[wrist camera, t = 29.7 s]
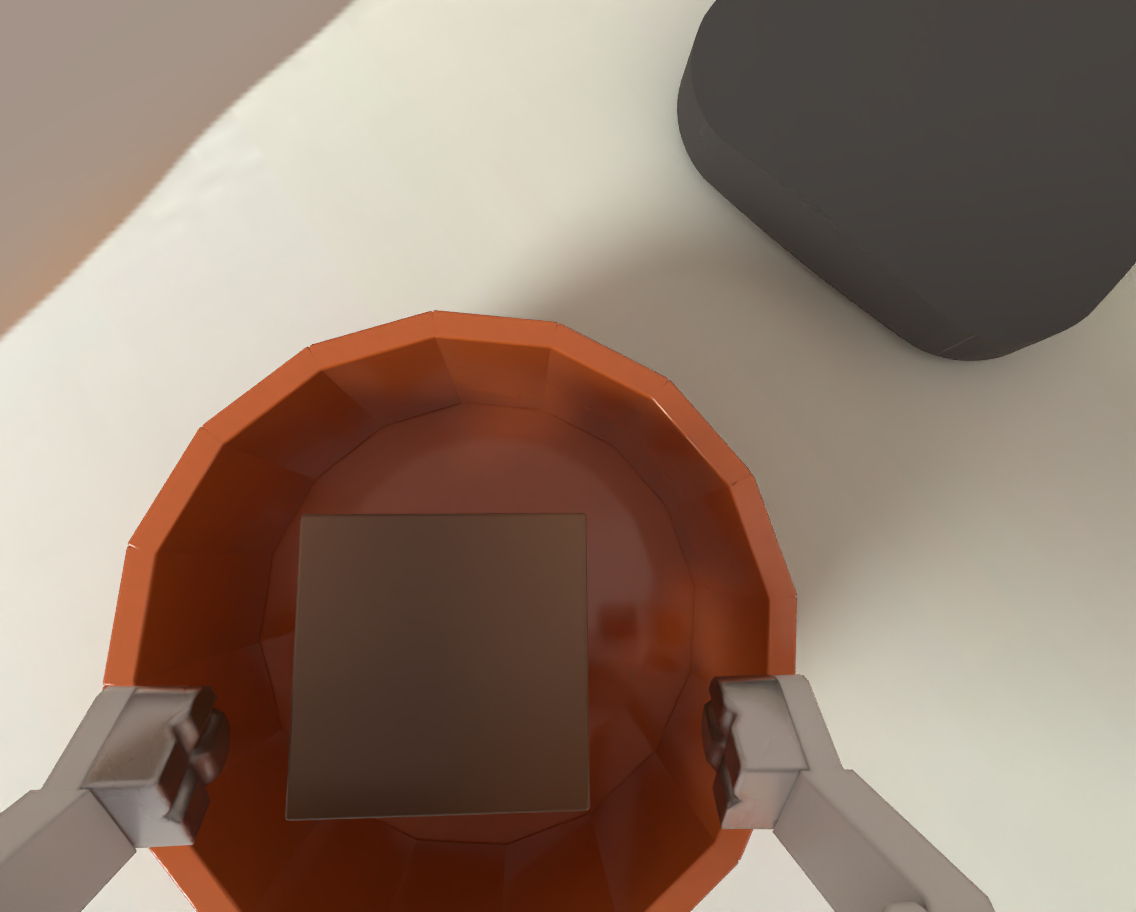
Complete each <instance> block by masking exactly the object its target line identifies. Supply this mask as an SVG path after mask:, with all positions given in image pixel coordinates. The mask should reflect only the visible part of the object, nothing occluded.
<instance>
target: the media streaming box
mask: <svg viewBox="0 0 1136 912" xmlns="http://www.w3.org/2000/svg"><path fill="white" fill-rule="evenodd" d="M677 114H678V124H679V129H680V133H681V137H682V140H683V143H684V146H685V148H686V151H687V153H688V155H689V156H690V158H691V160H692V162H693V164H694V165H695V167H696V168H697V170H698V171H699V172H700V174H701V175H702V176H703V177H704V179H706V180H707V181H708V182H709V183H710V184H711V185H712V186H713V187H714V188H715V189H717V190H718V191H719V192H720V193H721V194H722V195H723V196H724V197H726V198H727V199H728V200H729V201H730V202H731V203H732V204H733V205H735V206H736V207H737V208H738V209H739V210H740V211H741V212H743V213H744V214H745V215H746V216H747V217H748V218H750V219H751V220H752V221H753V222H754V223H755V224H757V225H758V226H759V227H760V228H761V229H763V230H764V231H765V232H766V233H767V234H768V235H770V236H771V237H772V238H773V239H774V240H776V241H777V242H778V243H779V244H780V245H782V246H783V247H784V248H785V249H786V250H788V251H789V252H790V253H791V254H793V255H794V256H795V257H796V258H798V259H799V260H800V261H801V262H803V263H804V264H805V265H806V266H808V267H809V268H810V269H811V270H813V271H814V272H815V273H816V274H818V275H819V276H820V277H821V278H823V279H824V280H825V281H827V282H828V283H829V284H830V285H832V286H833V287H834V288H836V289H837V290H838V291H839V292H841V293H842V294H843V295H845V296H846V297H847V298H849V299H850V300H851V301H853V302H854V303H855V304H857V305H858V306H859V307H861V308H862V309H863V310H865V311H866V312H867V313H869V314H870V315H871V316H873V317H874V318H875V319H877V320H878V321H880V322H881V323H882V324H884V325H885V326H886V327H888V328H889V329H891V330H892V331H893V332H895V333H896V334H898V335H899V336H900V337H902V338H903V339H905V340H906V341H907V342H909V343H910V344H912V345H913V346H915V347H917V348H919V349H921V350H923V351H925V352H928V353H931V354H934V355H937V356H940V357H944V358H949V359H955V360H965V361H978V360H987V359H993V358H997V357H1001V356H1004V355H1007V354H1010V353H1012V352H1015V351H1017V350H1020V349H1022V348H1024V347H1027V346H1029V345H1031V344H1034V343H1036V342H1039V341H1041V340H1043V339H1046V338H1048V337H1051V336H1053V335H1055V334H1058V333H1060V332H1062V331H1064V330H1066V329H1068V328H1070V327H1072V326H1073V325H1075V324H1077V323H1078V322H1080V321H1081V320H1083V319H1084V318H1085V317H1087V316H1088V315H1089V314H1090V313H1091V312H1092V311H1093V310H1094V309H1095V308H1096V307H1097V305H1098V304H1099V303H1100V302H1101V301H1102V300H1103V299H1104V298H1105V297H1106V296H1107V295H1108V293H1109V292H1110V291H1111V290H1112V289H1113V288H1114V287H1115V286H1116V285H1117V283H1118V282H1119V281H1120V280H1121V279H1122V278H1123V277H1124V275H1125V274H1126V273H1127V272H1128V271H1129V270H1130V268H1131V267H1132V266H1133V265H1134V264H1135V262H1136V0H716V1H715V2H714V4H713V5H712V6H711V8H710V9H709V10H708V12H707V13H706V14H705V16H704V18H703V20H702V22H701V24H700V27H699V29H698V32H697V35H696V38H695V41H694V44H693V47H692V50H691V53H690V56H689V59H688V62H687V65H686V68H685V71H684V74H683V77H682V80H681V84H680V88H679V93H678V102H677Z"/></svg>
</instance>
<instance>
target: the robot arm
mask: <svg viewBox="0 0 1136 912" xmlns="http://www.w3.org/2000/svg"><path fill="white" fill-rule="evenodd" d="M709 693H710V697H711V700H710V701H709V702H707V703H706V704H704V709H703V713H702V740H703V747H704V752H705V757H706V761H707V762H708V763H709V764H710V766H711V767H712V768H713V769H714V770H715V771H716V772H717V774H716V777H715V780H714V784H713V787H712V789H713V794H714V798H715V802H716V807H717V811H718V816H719V820H720V824H721V829H774V830H773V833H774V834H775V835H776V837H777V838H778V839H779V841H780V842H781V843H782V844H783V846H784V847H785V848H786V850H787V851H788V852H789V853H790V855H791V856H792V857H793V858H794V860H795V861H796V862H797V864H798V865H799V866H800V867H801V869H802V870H803V871H804V873H805V874H806V875H807V876H808V878H809V879H810V880H811V882H812V883H813V884H814V885H815V887H816V888H817V889H818V890H819V892H820V893H821V894H822V896H823V897H824V898H825V899H826V901H827V902H828V903H829V905H830V906H831V907H832V908H833V910H834V911H835V912H995V910H994V908H993V906H992V904H991V902H990V900H989V898H988V896H986V895H985V894H984V893H983V892H982V891H981V890H980V889H979V888H978V887H977V886H976V885H975V884H974V883H973V882H972V881H970V880H969V879H968V878H967V877H966V876H965V875H964V874H963V873H962V872H961V871H960V870H959V869H958V868H957V867H956V866H955V865H953V864H952V863H951V862H950V861H949V860H948V859H947V858H946V857H945V856H944V855H943V854H942V853H941V852H940V851H939V850H937V849H936V848H935V847H934V846H933V845H932V844H931V843H930V842H929V841H928V840H927V839H926V838H925V837H924V836H923V835H922V834H920V833H919V832H918V831H917V830H916V829H915V828H914V827H913V826H912V825H911V824H910V823H909V822H908V821H907V820H906V819H904V818H903V817H902V816H901V815H900V814H899V813H898V812H897V811H896V810H895V809H894V808H893V807H892V806H891V805H890V804H889V803H887V802H886V801H885V800H884V799H883V798H882V797H881V796H880V795H879V794H878V793H877V792H876V791H875V790H874V789H873V788H872V787H870V786H869V785H868V784H867V783H866V782H865V781H864V780H863V779H862V778H861V777H860V776H859V775H858V774H857V773H856V772H854V771H853V770H845V769H843V767H842V764H841V762H840V759H839V757H838V754H837V752H836V749H835V747H834V744H833V741H832V739H831V736H830V734H829V731H828V729H827V726H826V724H825V721H824V719H823V716H822V713H821V711H820V708H819V706H818V703H817V701H816V698H815V696H814V693H813V691H812V688H811V686H810V683H809V681H808V680H807V679H806V678H805V676H804V675H800V674H795V675H771V674H768V675H739V676H715V677H714V678H712V679H711V682H710V686H709ZM216 700H217V696H216V694H215V692H214V691H213V689H212V687H211V686H108V687H107V688H105V689H104V690H103V691H102V692H101V693H100V694H99V695H98V696H97V697H96V698H95V700H94V701H93V703H92V705H91V706H90V708H89V710H88V711H87V713H86V715H85V716H84V718H83V720H82V721H81V723H80V725H79V727H78V728H77V730H76V732H75V733H74V735H73V737H72V738H71V740H70V742H69V743H68V745H67V747H66V748H65V750H64V752H63V753H62V755H61V757H60V758H59V760H58V762H57V763H56V765H55V767H54V768H53V770H52V772H51V773H50V775H49V777H48V778H47V780H46V782H45V783H44V785H43V787H42V788H41V790H30V791H29V792H28V793H26V794H25V795H24V796H22V797H21V798H20V799H19V800H17V801H16V802H15V803H13V804H12V805H11V806H10V807H8V808H7V809H6V810H4V811H3V812H2V813H1V814H0V912H81V911H82V910H83V909H84V908H85V907H86V905H87V904H88V903H89V902H90V901H91V900H92V899H93V898H94V897H95V896H96V895H97V894H98V893H99V891H100V890H101V889H102V888H103V887H104V886H105V885H106V884H107V883H108V882H109V881H110V880H111V879H112V877H113V876H114V875H115V874H116V873H117V872H118V871H119V870H120V869H121V868H122V867H123V866H124V865H125V863H126V862H127V861H128V860H129V859H130V858H131V857H132V856H133V855H134V854H135V853H136V849H135V848H146V847H164V846H181V845H193V844H194V842H195V839H196V837H197V834H198V831H199V829H200V826H201V824H202V821H203V819H204V816H205V813H206V811H207V808H208V806H209V803H210V799H209V796H208V793H207V790H206V786H207V785H209V784H210V783H211V782H212V781H213V780H214V779H215V778H216V777H217V776H218V775H219V774H220V773H221V772H222V769H223V766H224V764H225V761H226V758H227V755H228V749H229V743H230V736H231V735H230V727H229V722H228V719H227V717H226V715H225V714H224V713H223V712H221V711H219V710H218V709H216V708H214V705H215V702H216Z"/></svg>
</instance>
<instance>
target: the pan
mask: <svg viewBox="0 0 1136 912" xmlns="http://www.w3.org/2000/svg"><path fill="white" fill-rule="evenodd" d="M460 513H583V514H585V515H586V534H587V614H588V694H589V774H590V807H589V810H587V811H568V812H538V813H508V814H478V815H448V816H417V817H387V818H357V819H327V820H297V821H288V820H286V817H285V812H286V793H287V773H288V754H289V735H290V715H291V696H292V676H293V657H294V637H295V618H296V599H297V579H298V560H299V540H300V521H301V517H302V515H304V514H460ZM128 545H129V546H128V547H127V550H126V556H125V561H124V567H123V573H122V578H121V584H120V590H119V595H118V601H117V607H116V612H115V618H114V624H113V629H112V635H111V641H110V646H109V652H108V658H107V663H106V669H105V674H104V680H103V685H104V687H103V690H104V689H105V688H107V687H108V686H211V687H212V689H213V691H214V692H215V694H216V696H217V700H216V702H215V705H214V708H216V709H218V710H219V711H221V712H223V713H224V714H225V715H226V717H227V719H228V722H229V727H230V735H231V736H230V743H229V749H228V755H227V758H226V761H225V764H224V766H223V769H222V772H221V773H220V774H219V775H218V776H217V777H216V778H215V779H214V780H213V781H212V782H211V783H210V784H209V785H207V786H206V790H207V793H208V796H209V799H210V803H209V806H208V808H207V811H206V813H205V816H204V819H203V821H202V824H201V826H200V829H199V831H198V834H197V837H196V839H195V842H194V844H193V845H181V846H164V847H148V848H149V849H150V851H151V852H152V853H153V855H154V856H155V857H156V859H157V860H158V861H159V863H160V864H161V865H162V867H163V868H164V869H165V870H166V872H167V873H168V874H169V876H170V877H171V878H172V880H173V881H174V882H175V884H176V885H177V886H178V888H179V889H180V890H181V892H182V893H183V894H184V896H185V897H186V898H187V900H188V901H189V902H190V904H191V905H192V906H193V907H194V909H195V910H196V911H197V912H690V911H691V910H692V909H693V908H694V907H695V906H696V905H697V904H698V903H699V902H700V901H701V900H702V899H703V898H704V897H705V896H706V895H707V894H708V893H709V892H710V891H711V890H712V889H713V888H714V887H715V886H716V885H717V884H718V883H719V882H720V881H721V880H722V879H723V878H724V877H725V876H726V875H727V874H728V873H729V872H730V871H731V870H732V869H733V868H734V867H735V866H736V865H737V864H738V860H740V859H741V857H742V855H743V852H744V850H745V848H746V845H747V843H748V840H749V838H750V836H751V833H752V831H753V829H721V824H720V820H719V816H718V811H717V807H716V802H715V798H714V794H713V789H712V787H713V784H714V780H715V777H716V774H717V772H716V771H715V770H714V769H713V768H712V767H711V766H710V764H709V763H708V762H707V761H706V757H705V752H704V747H703V740H702V713H703V709H704V704H706V703H707V702H709V701H710V700H711V697H710V693H709V686H710V682H711V679H712V678H714V677H715V676H739V675H768V674H771V675H795V660H796V616H797V598H796V595H797V594H796V591H795V588H794V585H793V582H792V580H791V577H790V574H789V571H788V569H787V566H786V563H785V560H784V558H783V555H782V552H781V549H780V547H779V544H778V541H777V538H776V536H775V533H774V530H773V527H772V525H771V522H770V519H769V516H768V514H767V511H766V508H765V505H764V503H763V500H762V497H761V494H760V492H759V489H758V486H757V483H756V481H755V478H754V475H753V474H751V472H750V470H749V469H748V468H747V467H746V465H745V464H744V463H743V462H742V461H741V460H740V459H739V458H738V456H737V455H736V454H735V453H734V452H733V451H732V450H731V448H730V447H729V446H728V445H727V444H726V443H725V442H724V441H723V439H722V438H721V437H720V436H719V435H718V434H717V433H716V431H715V430H714V429H713V428H712V427H711V426H710V425H709V424H708V422H707V421H706V420H705V419H704V418H703V417H702V416H701V414H700V413H699V412H698V411H697V410H696V409H695V408H694V407H693V405H692V404H691V403H690V402H689V401H688V400H687V399H686V397H685V396H684V395H683V394H682V393H681V392H680V391H679V390H678V388H677V387H676V386H675V385H674V384H673V383H672V382H671V381H670V380H668V379H667V378H666V377H665V376H663V375H661V374H659V373H657V372H655V371H653V370H651V369H649V368H647V367H645V366H643V365H641V364H639V363H637V362H635V361H633V360H631V359H629V358H627V357H625V356H623V355H621V354H619V353H617V352H615V351H614V350H612V349H610V348H608V347H606V346H604V345H602V344H600V343H598V342H596V341H594V340H592V339H590V338H588V337H586V336H584V335H582V334H580V333H578V332H576V331H574V330H572V329H570V328H568V327H566V326H564V325H562V324H558V323H557V322H552V321H542V320H532V319H521V318H511V317H500V316H490V315H479V314H469V313H459V312H448V311H438V310H435V311H433V312H432V311H429V312H425V313H422V314H418V315H415V316H411V317H408V318H404V319H401V320H397V321H394V322H390V323H386V324H383V325H379V326H376V327H372V328H369V329H365V330H362V331H358V332H355V333H351V334H348V335H344V336H341V337H337V338H334V339H330V340H326V341H323V342H319V343H316V344H312V345H311V346H310V347H306V348H305V349H303V350H302V351H301V352H299V353H298V354H297V355H295V356H294V357H293V358H291V359H290V360H289V361H287V362H286V363H285V364H283V365H282V366H281V367H279V368H278V369H277V370H275V371H274V372H273V373H271V374H270V375H269V376H267V377H266V378H265V379H263V380H262V381H261V382H259V383H258V384H257V385H255V386H254V387H253V388H251V389H250V390H249V391H247V392H246V393H245V394H243V395H242V396H241V397H239V398H238V399H237V400H235V401H234V402H233V403H231V404H230V405H229V406H227V407H226V408H225V409H223V410H222V411H221V412H219V413H218V414H217V415H215V416H214V417H213V418H212V419H210V420H209V421H208V422H206V423H205V424H204V425H203V427H200V428H199V430H198V431H197V433H196V434H195V436H194V438H193V439H192V441H191V442H190V444H189V446H188V447H187V449H186V451H185V452H184V454H183V455H182V457H181V459H180V460H179V462H178V463H177V465H176V467H175V468H174V470H173V471H172V473H171V475H170V476H169V478H168V480H167V481H166V483H165V484H164V486H163V488H162V489H161V491H160V492H159V494H158V496H157V497H156V499H155V500H154V502H153V504H152V505H151V507H150V508H149V510H148V512H147V513H146V515H145V517H144V518H143V520H142V521H141V523H140V525H139V526H138V528H137V529H136V531H135V533H134V534H133V536H132V537H131V539H130V541H129V542H128Z"/></svg>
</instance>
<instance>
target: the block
mask: <svg viewBox="0 0 1136 912" xmlns="http://www.w3.org/2000/svg"><path fill="white" fill-rule="evenodd" d="M589 807H590V774H589V694H588V614H587V534H586V515H585V514H583V513H460V514H304V515H302V517H301V521H300V540H299V560H298V579H297V599H296V618H295V637H294V657H293V676H292V696H291V715H290V735H289V754H288V773H287V793H286V812H285V817H286V820H288V821H297V820H327V819H357V818H387V817H417V816H448V815H478V814H508V813H538V812H568V811H587V810H589Z"/></svg>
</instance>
